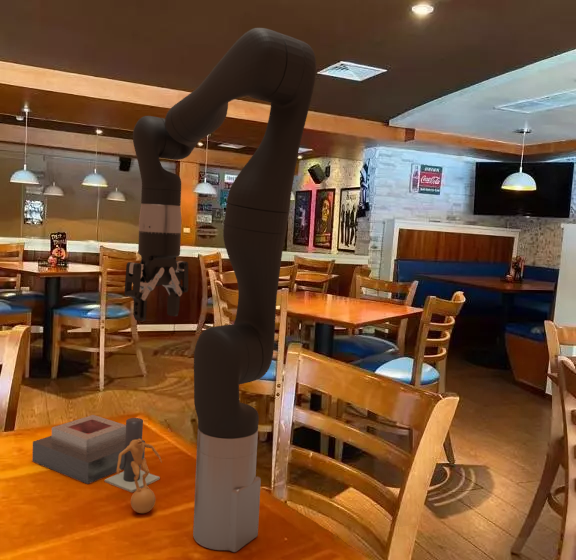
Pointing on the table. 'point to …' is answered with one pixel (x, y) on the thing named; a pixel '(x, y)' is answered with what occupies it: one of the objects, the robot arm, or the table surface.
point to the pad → (130, 486)
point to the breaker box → (83, 448)
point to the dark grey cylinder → (132, 433)
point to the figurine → (142, 496)
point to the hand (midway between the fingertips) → (157, 317)
